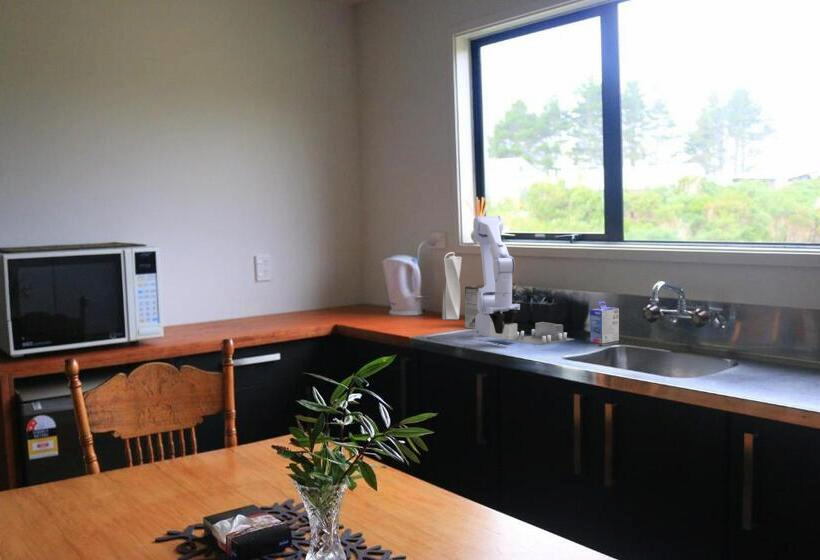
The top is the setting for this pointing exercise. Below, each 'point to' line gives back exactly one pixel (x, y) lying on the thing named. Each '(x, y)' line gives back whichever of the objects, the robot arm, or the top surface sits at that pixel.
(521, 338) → the tray
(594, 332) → the ink cartridge box
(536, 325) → the seated drive
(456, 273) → the skyscraper
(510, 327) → the grey rectangular block
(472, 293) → the coffee box
